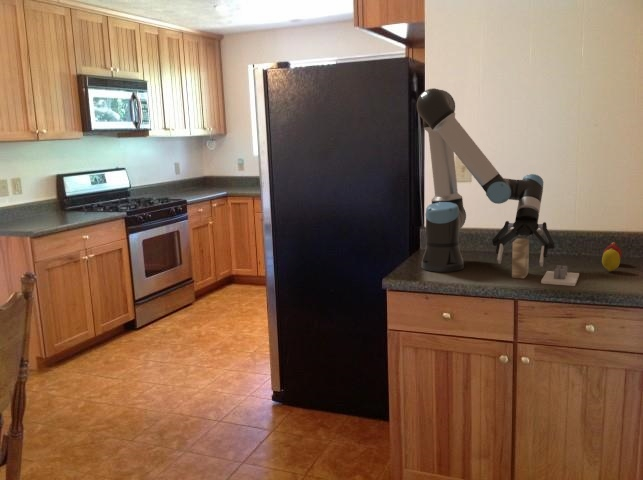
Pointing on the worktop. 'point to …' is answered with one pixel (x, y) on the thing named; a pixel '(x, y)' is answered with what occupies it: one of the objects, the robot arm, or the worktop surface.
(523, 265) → the tan wooden block
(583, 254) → the worktop surface
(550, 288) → the worktop surface
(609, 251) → the lemon
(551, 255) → the worktop surface
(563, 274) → the peg rest
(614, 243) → the onion
